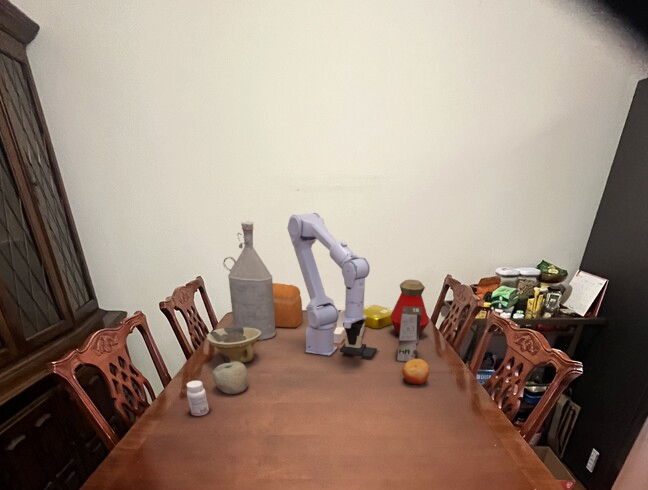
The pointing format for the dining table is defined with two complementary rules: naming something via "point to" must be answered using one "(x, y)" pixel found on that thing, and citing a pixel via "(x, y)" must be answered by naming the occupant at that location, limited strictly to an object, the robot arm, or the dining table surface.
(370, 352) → the base pad
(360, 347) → the loose pad
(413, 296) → the bottle
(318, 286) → the robot arm
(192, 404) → the pill bottle
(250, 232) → the grey jug
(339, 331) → the white slotted holder
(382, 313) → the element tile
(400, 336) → the coffee box
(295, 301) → the bread
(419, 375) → the fruit
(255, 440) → the dining table surface
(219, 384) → the stone
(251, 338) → the bowl
